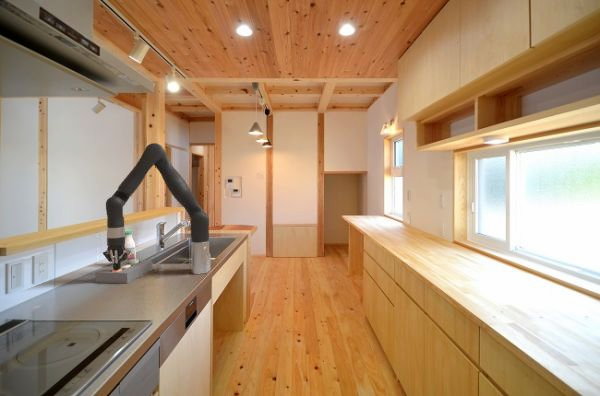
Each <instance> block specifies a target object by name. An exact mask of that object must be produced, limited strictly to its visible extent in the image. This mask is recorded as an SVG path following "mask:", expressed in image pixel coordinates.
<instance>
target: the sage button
mask: <svg viewBox="0 0 600 396" xmlns="http://www.w3.org/2000/svg"><path fill="white" fill-rule="evenodd" d="M137 263H139V258H136V259H131V260H129V264H137Z"/></svg>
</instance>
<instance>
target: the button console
mask: <svg viewBox="0 0 600 396" xmlns="http://www.w3.org/2000/svg"><path fill="white" fill-rule="evenodd" d="M123 265H131V266H130V267H128V268H120V269H122V271H119V272H112V270H114V269H113V264H112V265H110V266H107V267H105V268H102V269H101V270H98V271H96V272H94V273H95V274H94V275H95V283H101V284H103V283H105V284H129V283H130V282H133V281H134V280H136V279H139V278H140V277H141V276H143V275H145V274H147V273H149V272H151V271H152V270H153V269H154V267H153V260H141V259H140V260H139V263H137V264H129V260H124V261H122V262H121V263H120V267H121V266H123Z"/></svg>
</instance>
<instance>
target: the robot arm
mask: <svg viewBox="0 0 600 396" xmlns="http://www.w3.org/2000/svg"><path fill="white" fill-rule="evenodd" d="M153 166H154V167H156V169H157V170H158V171H159V174H160V175H161V177H162V179H163V181H164V184H165V185H166V187H167V190H169V192H170V193H171V195H172V196H173V197H174V199H175V200H176V201H177V202H178V203H179V204H180V205H181V206H182V207H183V209H185V211H186V213H187V214H188V216H189V219H190V238H191V239H190V240H191V241H190V243H191V247H190V248H191V253H190V254H191V273H192V274H194V275H201V274H203V275H204V274H208V272H210V271H211V253H210V218H209V215H208V214H207V212H205V210H204V209H203V208H202V207H201V205H200V204H199V203H198V201H197V199H196V198H195V195H194V194H193V191H192V190H191V188H190V187H189V185H188V183H187V182H186V180H185V179H184V178H183V177H182V175H181V174H180V173H179V172H178V171H177V169H176V168H175V167H174V165H173V164H172V162H171V161H170V159H169V157H168V155H167V153H166V150H165V148H164V147H163V146H162V144H159V143H156V142H155V143H153V142H152V143H149V144H148V145H147V146H146V147H145V148H144V151H143V153H142V155H141V156H140V158H139V160H138V161H137V162H136V165H135V166H133V168H132V170H131V171H130V172H129V173H128V174H127V175H126V177H124V179H123V180H122V181H121V183H120V184H119V186H117V190H116V191H115V192H114V193H113V194H112V196H110V197H108V198H107V199H106V202H105V209H106V210H105V211H106V221H107V222H106V224H107V228H106V246H107V248H106V250H105V251H102V254H103V256H104V257H105V259H106V260H107V262H109V263H112V265H113V269H114V270H116V271H117V270H119V269H120V268H121V267H120V263H121V262H122V261H124V260H125V259H126V258H127V256H128V255H129V254H130V252H129V251H128V252H127V251H126V250H125V231H126V229H125V217H124V207H125V205H126V203H127V202H128V200H129V199H130V198H131V196H132V195H133V194H134V193H135V192H136V190H137V189H138V188H139V187H140V186H141V183H142V182H143V181H144V179H145V177H146V176H147V174H148V172H149V171H150V169H152V168H153ZM122 254H123V256H122Z"/></svg>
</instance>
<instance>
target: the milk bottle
mask: <svg viewBox="0 0 600 396" xmlns="http://www.w3.org/2000/svg"><path fill="white" fill-rule="evenodd" d="M136 249H137V248H136V243H135V241H134V239H133V231H131V230H128V231H126V230H125V250H126V251H127V252H128V251H129V252H130V254H129V255H128V256H127V258H126V259H125V260H131V259H137V257H136V256H137V254H136ZM122 256H123V254H122Z"/></svg>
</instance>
